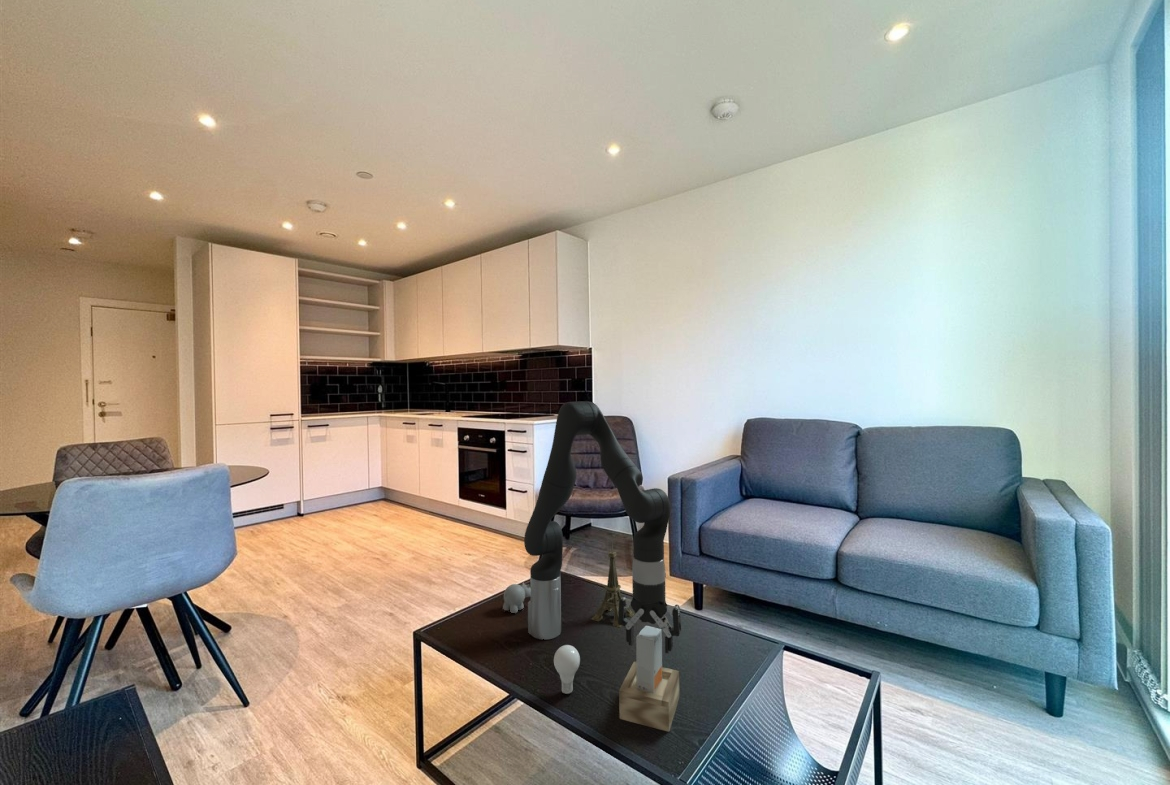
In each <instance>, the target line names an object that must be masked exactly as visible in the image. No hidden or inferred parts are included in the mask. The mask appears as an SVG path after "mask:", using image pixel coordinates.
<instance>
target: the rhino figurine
mask: <svg viewBox="0 0 1170 785" xmlns="http://www.w3.org/2000/svg"><path fill="white" fill-rule="evenodd" d="M503 592H504V593H503V600H504V603H503V604H502V610H503V609H504V610H509V609H510V611H509V612H511V613H515V614H517V613H518V612H519V611H518V610H521V609H523V608H524V609H525V607H524V602H525V599H526V598H531V586H530V584H529V583H528V584H525V583H524V581H523V582H522V583H521V585H520V584H518V583H517V584H516V583H515V584H514V583H513V584H510V585H508V586H507V587H506V588H505V590H504V591H503ZM524 609H523V610H524ZM511 613H510V614H511Z"/></svg>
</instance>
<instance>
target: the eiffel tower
mask: <svg viewBox="0 0 1170 785" xmlns="http://www.w3.org/2000/svg"><path fill="white" fill-rule="evenodd" d="M611 542H612V543H611V551H610V552H608V557H609V565H608V566H609V567H608V576H607V584H606V585H605V587H604V589H605V590H606V591H605V595H604V598H603V600H602V601H601V602H602V603H601V605H600V607H599V608H598V609H597V611H596V612H595V614H594V616H593V617H592V618H590V620H591V621H595V622H601V620H603V617H604V616H603V614H604V613H605V611H606V610H608V611H607V612H609V611H611V610H612V609H613V610H612V611H613V614H614V615H613V622H612V626H614V627H617V628H622V626H623V625H619V624H618V614H619V601H620V599H621V598H622V597H623V595H622V593H621V590H620V589H621V587H622V586H621V584H619V579H618V572H617V563H616V556H618V554H617V552H616V551H614V544H613V542H614V541H613V540H611ZM612 611H611V612H612ZM634 613H635V612H633V611H632V608H631V607H630V606H629V607H628V608H627V609H626V617H629V618H631V617H632V616H633V615H634ZM623 627H624V626H623Z"/></svg>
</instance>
